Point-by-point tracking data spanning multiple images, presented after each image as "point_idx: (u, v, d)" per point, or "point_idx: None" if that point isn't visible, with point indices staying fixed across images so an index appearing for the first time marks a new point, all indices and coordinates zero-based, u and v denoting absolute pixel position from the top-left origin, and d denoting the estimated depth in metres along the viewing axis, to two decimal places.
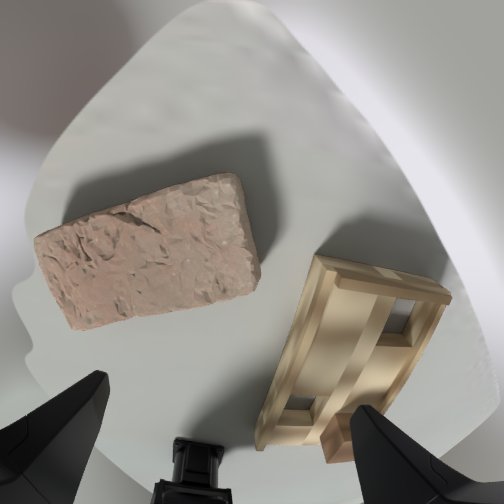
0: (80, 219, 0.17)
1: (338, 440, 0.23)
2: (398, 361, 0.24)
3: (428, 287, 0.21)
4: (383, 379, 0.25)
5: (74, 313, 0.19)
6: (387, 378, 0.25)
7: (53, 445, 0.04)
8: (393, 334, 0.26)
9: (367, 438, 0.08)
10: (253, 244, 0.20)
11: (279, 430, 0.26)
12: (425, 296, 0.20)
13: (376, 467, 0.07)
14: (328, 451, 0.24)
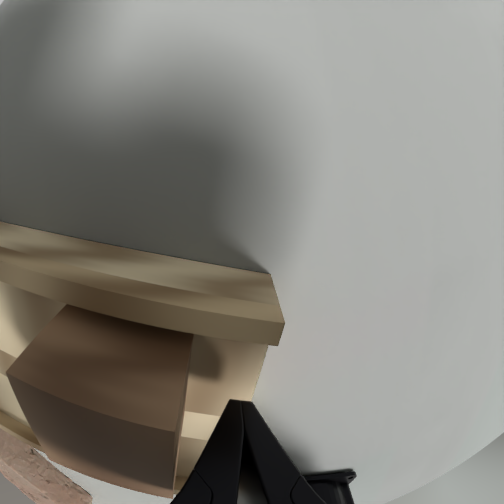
0: None
1: None
2: None
3: None
4: None
5: None
6: None
7: (237, 490, 0.05)
8: None
9: None
10: None
11: None
12: None
13: (242, 476, 0.06)
14: None
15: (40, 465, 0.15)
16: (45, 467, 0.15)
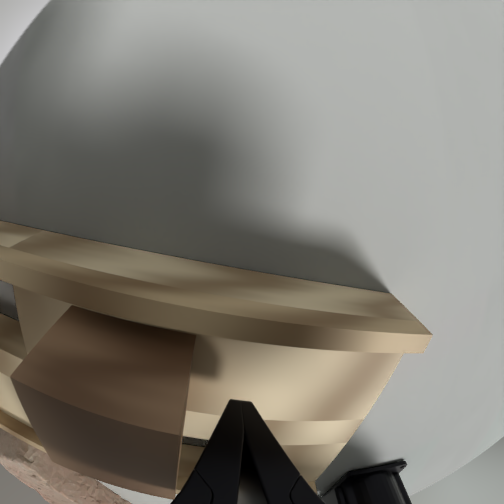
0: None
1: None
2: (45, 299, 0.08)
3: None
4: None
5: None
6: None
7: (237, 490, 0.05)
8: None
9: None
10: (8, 441, 0.12)
11: None
12: None
13: (242, 475, 0.06)
14: None
15: (90, 486, 0.16)
16: (95, 486, 0.16)
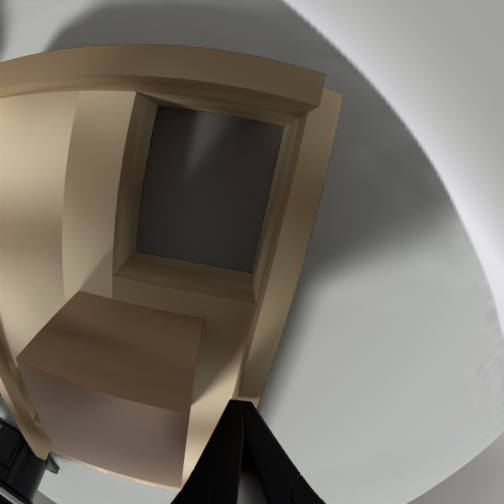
0: None
1: None
2: (219, 343, 0.09)
3: None
4: (194, 387, 0.10)
5: None
6: (206, 387, 0.10)
7: (237, 490, 0.05)
8: (219, 269, 0.11)
9: None
10: None
11: None
12: (167, 58, 0.05)
13: (242, 476, 0.06)
14: None
15: None
16: None
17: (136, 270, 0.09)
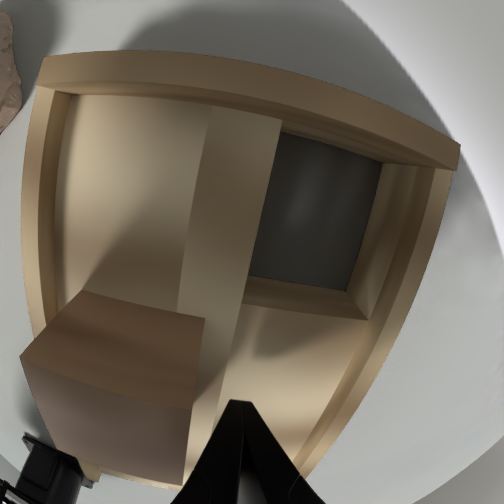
0: None
1: None
2: (332, 357, 0.10)
3: None
4: (297, 399, 0.11)
5: None
6: (309, 397, 0.11)
7: (237, 490, 0.05)
8: (321, 289, 0.12)
9: None
10: None
11: None
12: (357, 107, 0.06)
13: (242, 475, 0.06)
14: None
15: None
16: None
17: (257, 295, 0.10)
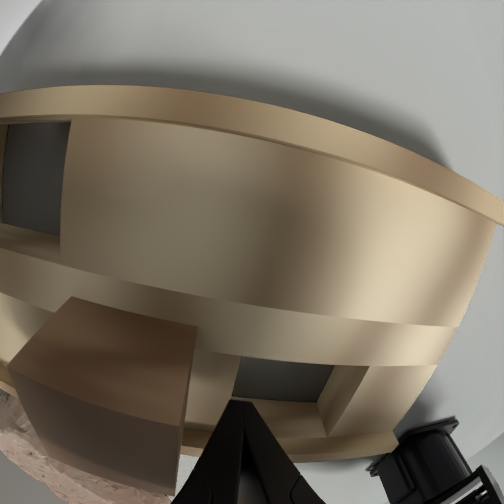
0: None
1: None
2: (116, 149, 0.07)
3: None
4: (193, 183, 0.07)
5: None
6: (191, 166, 0.07)
7: (237, 490, 0.05)
8: None
9: None
10: (2, 412, 0.11)
11: (353, 422, 0.11)
12: None
13: (242, 476, 0.06)
14: None
15: None
16: None
17: None
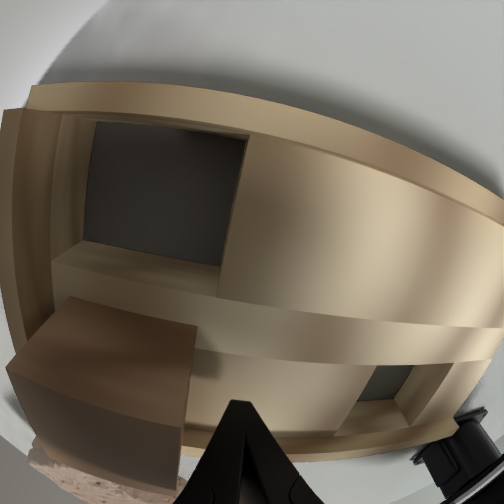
0: None
1: None
2: (307, 181, 0.08)
3: None
4: (375, 222, 0.08)
5: None
6: (376, 206, 0.08)
7: None
8: (238, 175, 0.10)
9: None
10: None
11: (431, 411, 0.12)
12: (2, 237, 0.05)
13: None
14: None
15: None
16: (178, 484, 0.15)
17: (220, 269, 0.09)
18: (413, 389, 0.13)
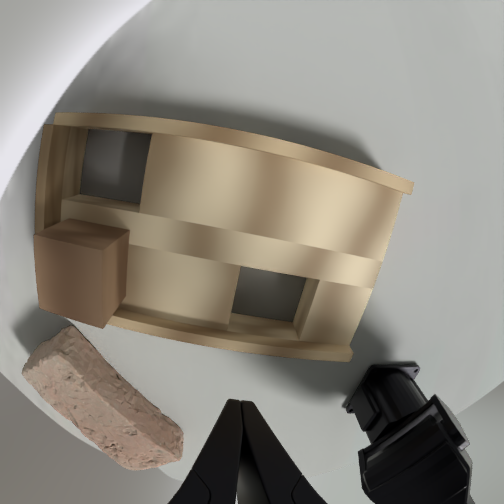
0: None
1: None
2: (178, 151, 0.15)
3: None
4: (218, 170, 0.15)
5: (160, 457, 0.21)
6: (218, 161, 0.15)
7: (235, 490, 0.05)
8: None
9: None
10: (46, 347, 0.19)
11: (316, 329, 0.19)
12: (40, 182, 0.13)
13: (243, 476, 0.06)
14: None
15: (127, 391, 0.22)
16: (133, 394, 0.22)
17: None
18: (301, 309, 0.20)
